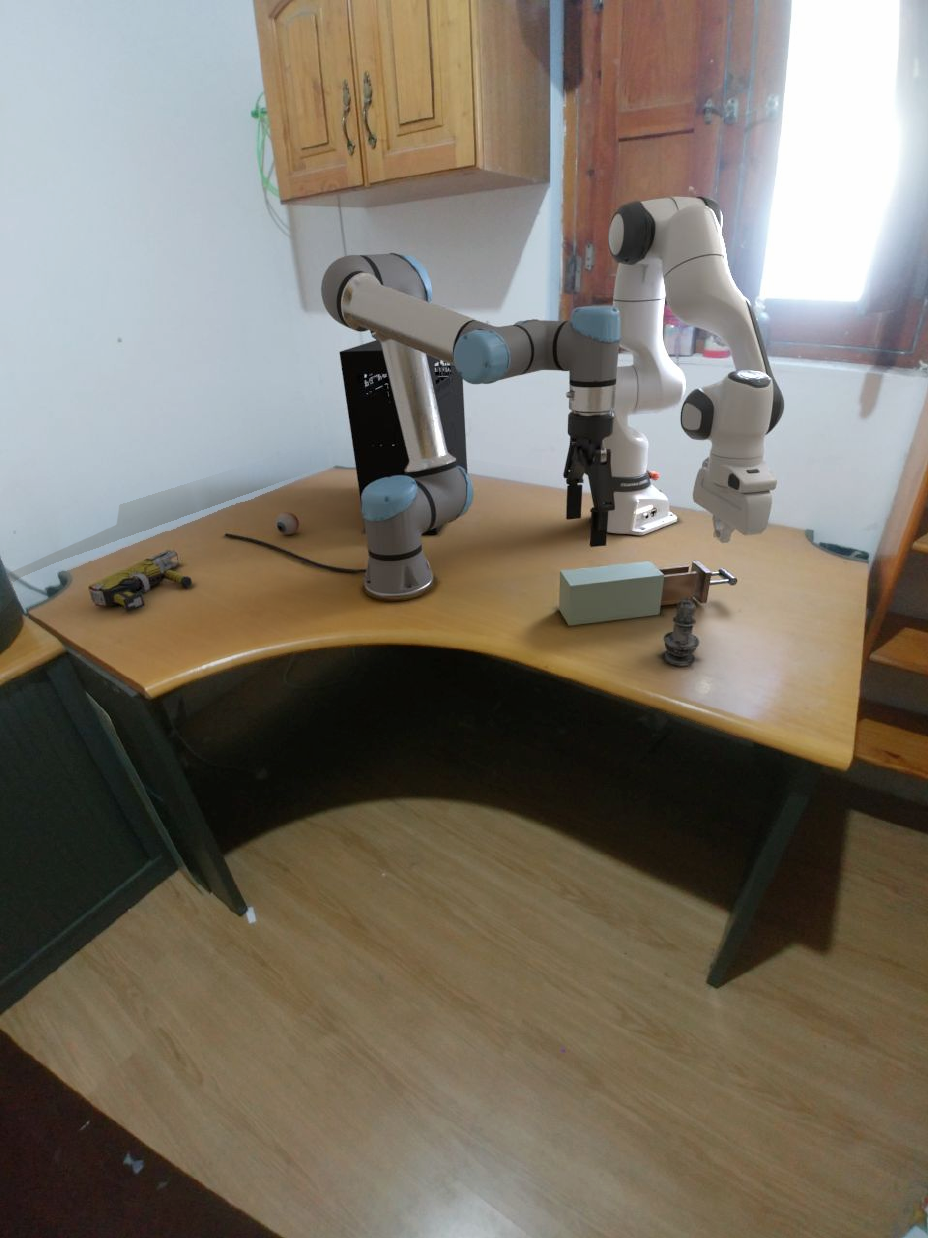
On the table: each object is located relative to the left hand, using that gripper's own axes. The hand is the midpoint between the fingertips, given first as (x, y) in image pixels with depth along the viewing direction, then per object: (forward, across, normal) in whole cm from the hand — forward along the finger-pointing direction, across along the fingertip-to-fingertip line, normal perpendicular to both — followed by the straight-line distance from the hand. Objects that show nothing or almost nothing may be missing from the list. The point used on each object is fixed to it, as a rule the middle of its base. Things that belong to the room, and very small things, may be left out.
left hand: (584, 531), depth 110 cm
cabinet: (+18, 0, +6) cm, 19 cm away
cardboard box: (+18, -71, -25) cm, 77 cm away
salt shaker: (+18, +18, +12) cm, 28 cm away
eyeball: (+18, -61, -62) cm, 89 cm away
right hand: (+5, 0, +27) cm, 28 cm away
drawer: (+17, 0, +19) cm, 26 cm away
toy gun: (+18, -35, -90) cm, 98 cm away
